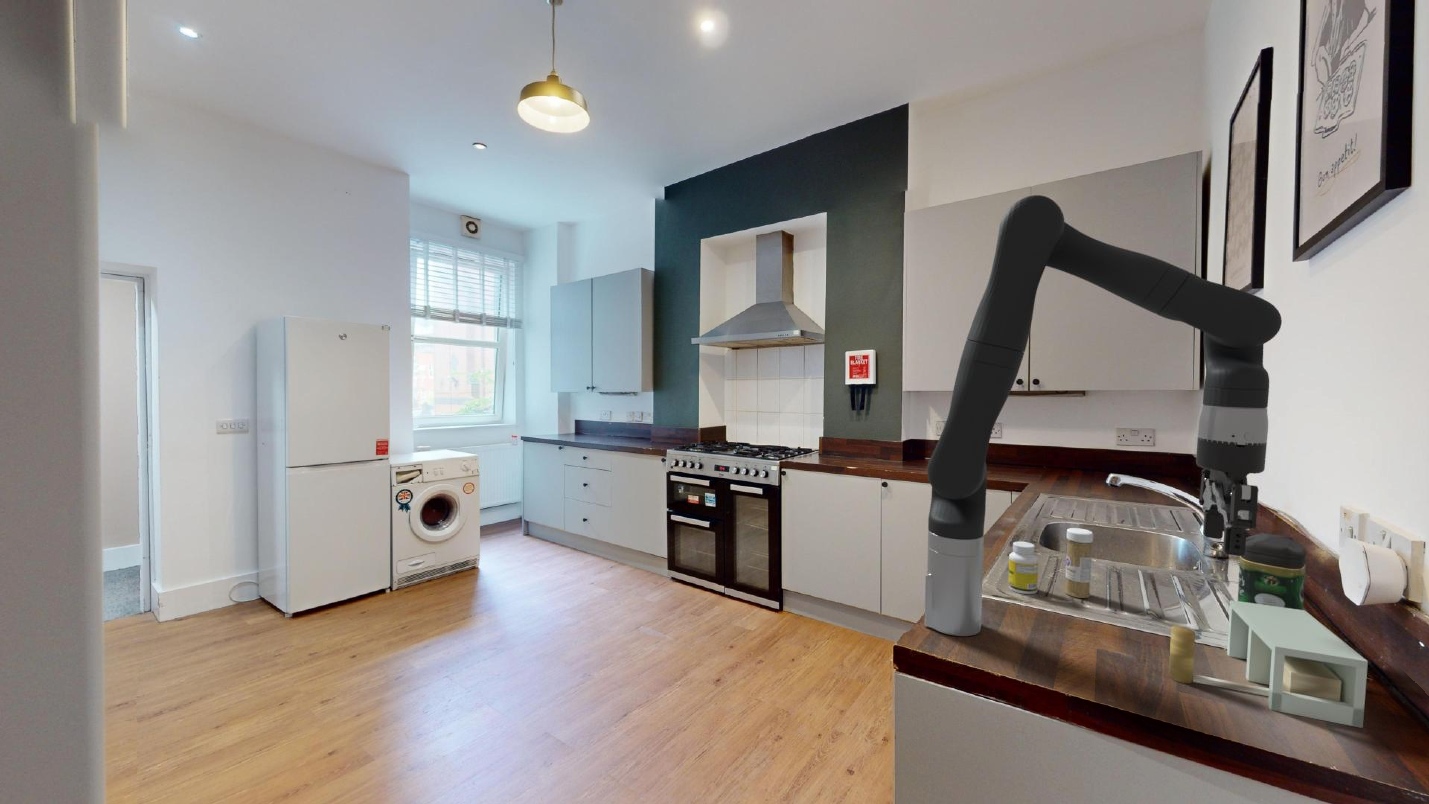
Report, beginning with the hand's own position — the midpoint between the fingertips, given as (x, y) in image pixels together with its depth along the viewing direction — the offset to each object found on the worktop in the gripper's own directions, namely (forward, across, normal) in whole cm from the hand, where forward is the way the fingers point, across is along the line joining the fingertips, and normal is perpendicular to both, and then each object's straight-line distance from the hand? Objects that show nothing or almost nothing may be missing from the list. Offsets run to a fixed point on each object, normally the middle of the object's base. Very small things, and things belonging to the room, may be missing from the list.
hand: (1222, 545), depth 85 cm
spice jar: (+21, -28, -14) cm, 38 cm away
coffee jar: (+20, -17, +12) cm, 29 cm away
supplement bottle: (+21, -26, -24) cm, 41 cm away
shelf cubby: (+20, -2, +9) cm, 22 cm away
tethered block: (+20, +2, +3) cm, 21 cm away
